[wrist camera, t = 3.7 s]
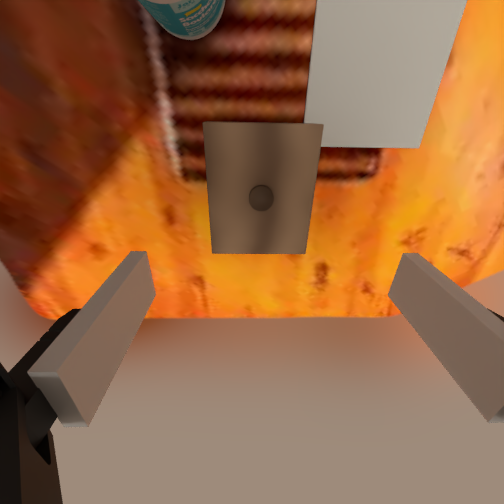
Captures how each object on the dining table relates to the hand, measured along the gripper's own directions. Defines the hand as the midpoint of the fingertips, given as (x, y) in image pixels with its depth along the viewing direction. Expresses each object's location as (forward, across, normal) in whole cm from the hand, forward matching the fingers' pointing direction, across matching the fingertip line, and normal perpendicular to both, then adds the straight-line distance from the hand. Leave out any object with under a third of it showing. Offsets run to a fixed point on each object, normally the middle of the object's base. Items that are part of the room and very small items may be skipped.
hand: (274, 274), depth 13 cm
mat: (+21, +12, +12) cm, 27 cm away
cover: (+16, 0, 0) cm, 16 cm away
